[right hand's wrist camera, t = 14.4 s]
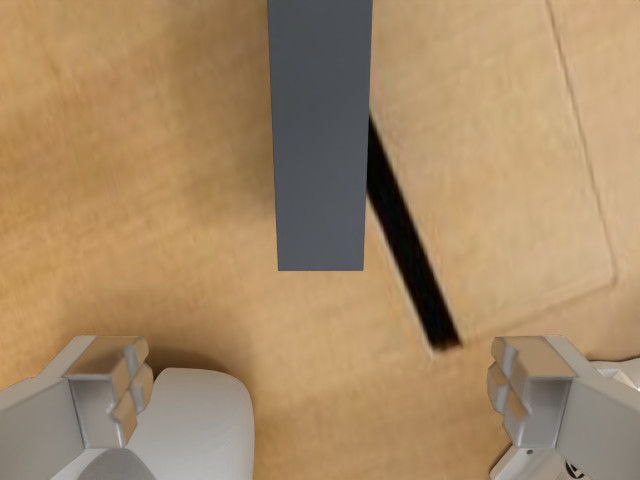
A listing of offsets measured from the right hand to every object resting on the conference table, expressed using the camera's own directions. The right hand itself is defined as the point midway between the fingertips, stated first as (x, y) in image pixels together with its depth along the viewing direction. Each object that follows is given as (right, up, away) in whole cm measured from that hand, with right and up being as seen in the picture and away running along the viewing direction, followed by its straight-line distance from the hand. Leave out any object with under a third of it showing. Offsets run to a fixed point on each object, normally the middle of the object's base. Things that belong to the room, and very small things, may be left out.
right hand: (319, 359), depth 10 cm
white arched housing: (-13, -17, +31) cm, 37 cm away
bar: (0, +15, +19) cm, 24 cm away
